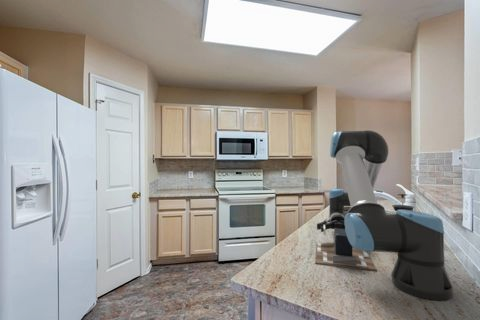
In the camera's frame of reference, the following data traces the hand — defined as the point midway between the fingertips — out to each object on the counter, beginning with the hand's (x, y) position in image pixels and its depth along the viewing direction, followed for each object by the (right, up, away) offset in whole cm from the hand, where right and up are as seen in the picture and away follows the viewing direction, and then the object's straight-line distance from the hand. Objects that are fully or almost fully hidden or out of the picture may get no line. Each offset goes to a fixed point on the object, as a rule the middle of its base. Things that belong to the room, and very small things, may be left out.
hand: (341, 233), depth 102 cm
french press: (+38, -9, +16) cm, 42 cm away
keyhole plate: (-1, -9, -3) cm, 9 cm away
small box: (-2, -8, -7) cm, 11 cm away
